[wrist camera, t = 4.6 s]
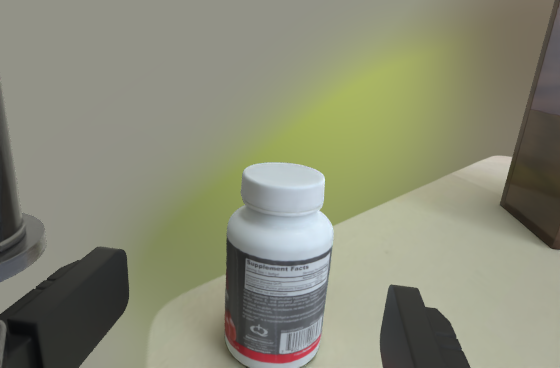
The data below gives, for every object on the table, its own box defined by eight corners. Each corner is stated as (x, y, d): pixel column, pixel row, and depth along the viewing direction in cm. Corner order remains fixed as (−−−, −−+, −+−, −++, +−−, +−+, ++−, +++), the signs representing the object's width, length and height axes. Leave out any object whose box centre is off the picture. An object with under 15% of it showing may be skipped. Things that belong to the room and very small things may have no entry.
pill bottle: (230, 306, 24) (235, 155, 21) (315, 311, 24) (332, 161, 21) (216, 374, 19) (220, 187, 16) (325, 380, 19) (350, 195, 16)
